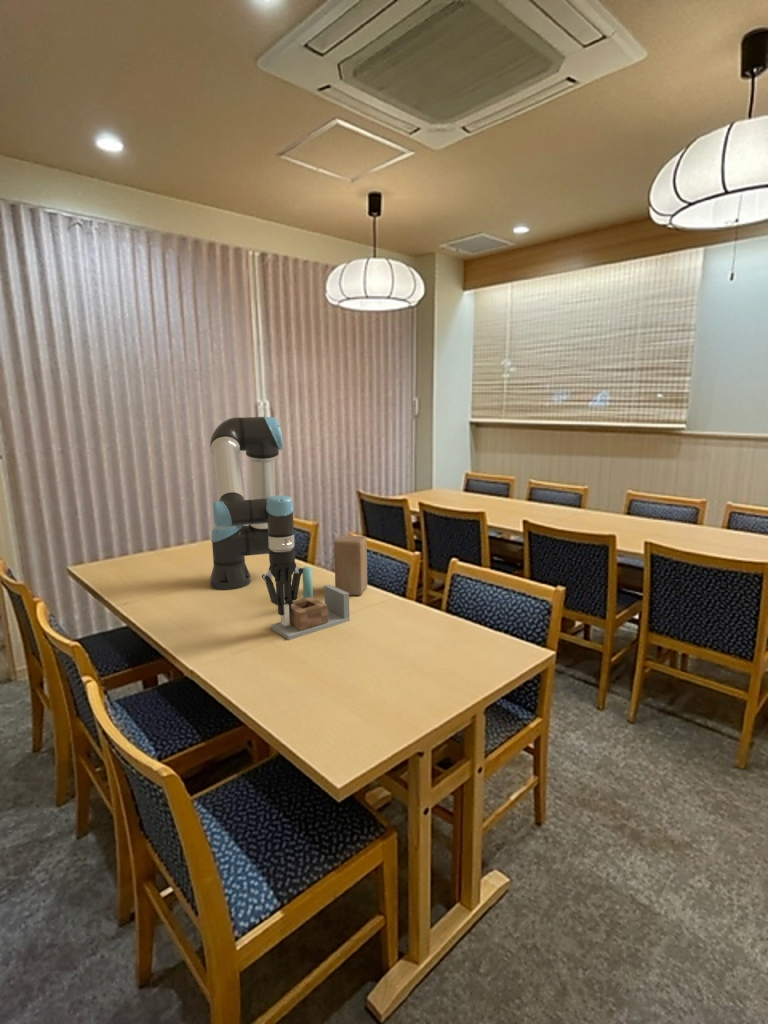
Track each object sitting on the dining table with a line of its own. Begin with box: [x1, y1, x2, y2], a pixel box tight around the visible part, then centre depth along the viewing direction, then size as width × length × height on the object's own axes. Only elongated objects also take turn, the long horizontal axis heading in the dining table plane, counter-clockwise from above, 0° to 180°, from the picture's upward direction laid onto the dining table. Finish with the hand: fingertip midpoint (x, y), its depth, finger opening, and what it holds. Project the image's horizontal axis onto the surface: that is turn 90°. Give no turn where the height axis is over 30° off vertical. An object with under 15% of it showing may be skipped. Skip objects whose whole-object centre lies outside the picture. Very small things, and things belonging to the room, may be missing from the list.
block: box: [333, 534, 368, 596], centre depth 200 cm, size 10×10×20 cm
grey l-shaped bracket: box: [270, 584, 351, 641], centre depth 171 cm, size 11×22×9 cm, turn 130°
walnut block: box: [289, 597, 328, 631], centre depth 170 cm, size 10×10×6 cm
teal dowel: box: [301, 566, 314, 599], centre depth 184 cm, size 3×3×14 cm
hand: (285, 624), depth 166 cm, fingers closed
